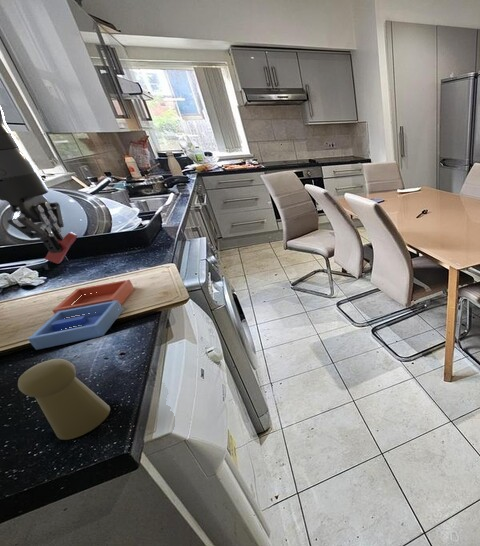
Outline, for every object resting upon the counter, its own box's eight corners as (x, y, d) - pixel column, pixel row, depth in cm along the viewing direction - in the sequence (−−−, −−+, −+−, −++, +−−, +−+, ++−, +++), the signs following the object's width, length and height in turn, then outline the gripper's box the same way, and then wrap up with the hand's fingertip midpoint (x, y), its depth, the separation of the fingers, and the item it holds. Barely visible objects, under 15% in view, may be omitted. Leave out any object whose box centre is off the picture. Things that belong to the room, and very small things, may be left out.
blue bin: (36, 350, 62) (27, 339, 61) (65, 321, 70) (57, 311, 69) (104, 336, 65) (96, 325, 64) (124, 310, 73) (118, 300, 72)
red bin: (59, 321, 71) (52, 310, 69) (83, 298, 79) (76, 288, 78) (118, 309, 74) (112, 299, 72) (134, 289, 82) (129, 279, 81)
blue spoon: (54, 337, 65) (47, 327, 64) (63, 327, 68) (57, 318, 67) (102, 327, 67) (96, 318, 66) (109, 318, 70) (103, 309, 69)
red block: (55, 265, 72) (41, 260, 71) (63, 259, 75) (50, 254, 74) (71, 237, 71) (58, 232, 70) (79, 232, 74) (66, 227, 73)
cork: (117, 399, 50) (79, 347, 45) (101, 431, 45) (56, 376, 40) (70, 412, 49) (25, 359, 43) (47, 447, 44) (-7, 392, 38)
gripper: (9, 170, 69) (56, 243, 77) (-43, 182, 58) (19, 266, 66) (52, 166, 71) (93, 237, 80) (11, 177, 60) (64, 259, 68)
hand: (59, 250), depth 73 cm, fingers closed on red block, 1 cm apart
